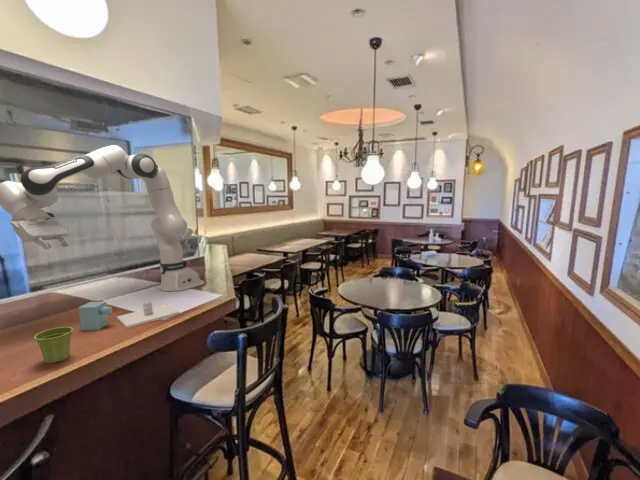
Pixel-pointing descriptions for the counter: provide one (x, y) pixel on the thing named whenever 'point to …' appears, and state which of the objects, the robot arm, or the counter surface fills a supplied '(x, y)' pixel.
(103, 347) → the counter surface
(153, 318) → the board
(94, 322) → the light blue pegged cube
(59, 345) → the plant pot
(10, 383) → the counter surface
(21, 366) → the counter surface
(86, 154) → the robot arm
